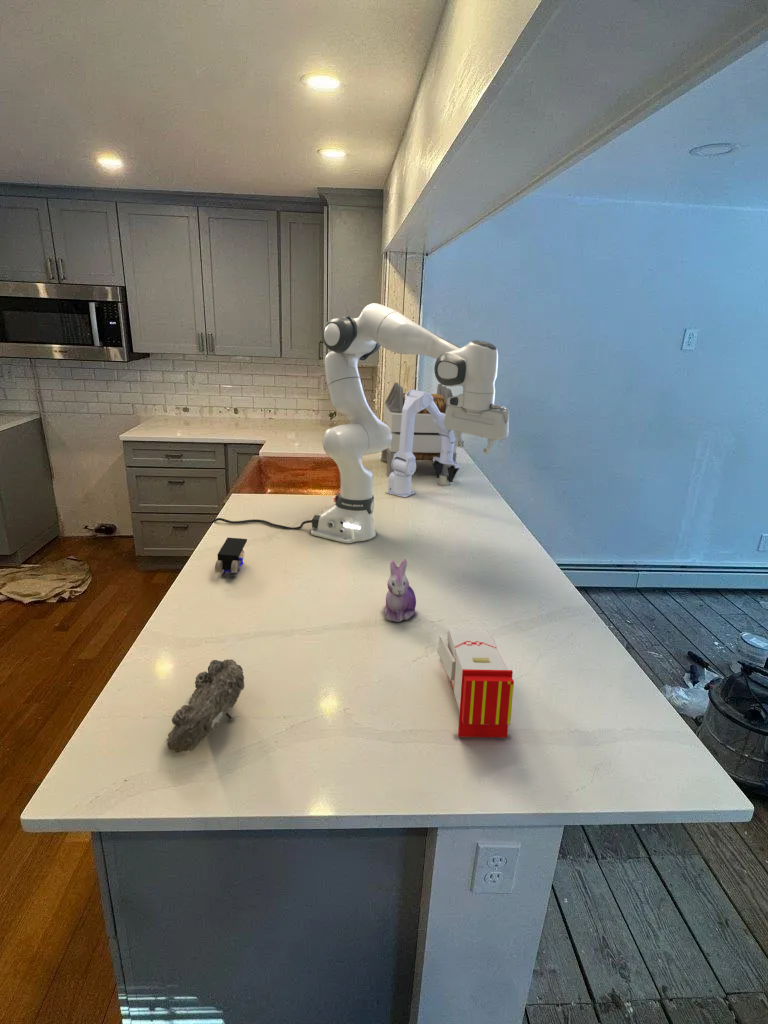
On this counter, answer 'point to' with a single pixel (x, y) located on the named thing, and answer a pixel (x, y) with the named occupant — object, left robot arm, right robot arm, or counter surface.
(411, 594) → the figurine
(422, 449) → the transformer
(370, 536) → the left robot arm
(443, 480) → the canister
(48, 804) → the counter surface
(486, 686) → the toy
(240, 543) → the figurine character
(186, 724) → the fossil
